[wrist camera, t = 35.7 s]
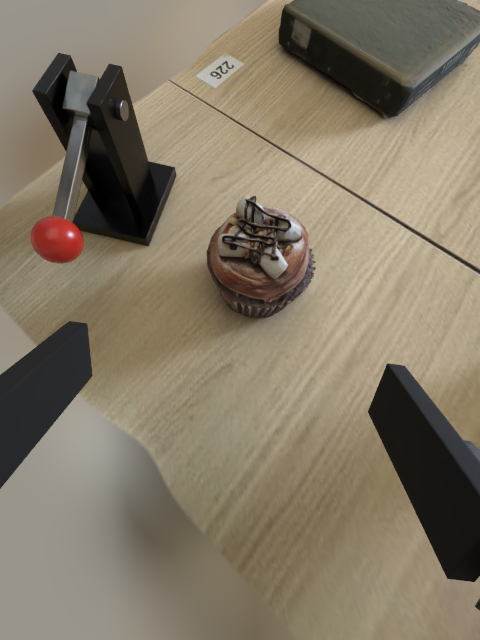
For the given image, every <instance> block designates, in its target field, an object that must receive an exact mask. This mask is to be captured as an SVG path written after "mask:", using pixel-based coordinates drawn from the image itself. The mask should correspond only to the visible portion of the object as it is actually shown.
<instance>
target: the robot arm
mask: <svg viewBox="0 0 480 640" xmlns="http://www.w3.org/2000/svg"><path fill="white" fill-rule="evenodd" d="M91 377H92V367H91V357H90V347H89V337H88V327H87V324H86V323H79V322H71V321H69V322H68V323H66V324H65V325H64V326H63V327H61V328H60V329H59V330H57V331H56V332H55V333H54V334H52V335H51V336H50V337H49V338H47V339H46V340H45V341H43V342H42V343H41V344H40V345H38V346H37V347H36V348H34V349H33V350H32V351H31V352H29V353H28V354H27V355H26V356H24V357H23V358H22V359H20V360H19V361H18V362H16V363H15V364H14V365H13V366H11V367H10V368H9V369H7V371H5V372H4V373H2V374H1V375H0V488H1V487H2V486H3V485H4V483H5V482H6V481H7V480H8V479H9V477H10V476H11V475H12V474H13V472H14V471H15V470H16V468H18V466H19V465H20V464H21V463H22V461H23V460H24V459H25V458H26V457H27V455H28V454H29V453H30V451H31V450H32V449H33V448H34V447H35V445H36V444H37V443H38V442H39V441H40V439H41V438H42V437H43V436H44V434H45V433H46V432H47V431H48V429H49V428H50V427H51V426H52V425H53V423H54V422H55V421H56V420H57V419H58V417H59V416H60V415H61V414H62V412H63V411H64V410H65V409H66V408H67V406H68V405H69V404H70V403H71V401H72V400H73V399H74V398H75V397H76V395H77V394H78V393H79V392H80V390H81V389H82V388H83V387H84V385H85V384H86V383H87V382H88V381H89V379H90V378H91ZM368 413H369V415H370V417H371V419H372V421H373V423H374V426H375V428H376V430H377V432H378V434H379V436H380V438H381V440H382V442H383V444H384V447H385V449H386V451H387V453H388V455H389V457H390V459H391V461H392V463H393V465H394V468H395V470H396V472H397V474H398V476H399V478H400V480H401V482H402V484H403V486H404V489H405V491H406V493H407V495H408V497H409V499H410V501H411V503H412V505H413V507H414V510H415V512H416V514H417V516H418V518H419V520H420V522H421V524H422V526H423V528H424V530H425V533H426V535H427V537H428V539H429V541H430V543H431V545H432V547H433V549H434V551H435V554H436V556H437V558H438V560H439V562H440V564H441V566H442V568H443V570H444V572H445V575H446V577H447V579H455V580H463V581H471V582H475V581H476V580H477V578H478V577H479V576H480V449H479V448H478V447H476V446H475V445H474V444H473V443H471V442H470V441H463V440H462V438H461V437H460V436H459V435H458V433H457V432H456V431H455V429H454V428H453V427H452V426H451V424H450V423H449V422H448V421H447V419H446V418H445V417H444V415H443V414H442V413H441V412H440V410H439V409H438V408H437V406H436V405H435V404H434V403H433V401H432V400H431V399H430V398H429V396H428V395H427V394H426V392H425V391H424V390H423V389H422V387H421V386H420V385H419V384H418V382H417V381H416V380H415V378H414V377H413V376H412V375H411V373H410V372H409V371H408V370H407V368H406V367H405V366H402V365H395V364H387V365H386V368H385V371H384V373H383V376H382V378H381V381H380V383H379V386H378V388H377V391H376V393H375V396H374V398H373V401H372V403H371V406H370V408H369V411H368ZM475 607H476V608H477V609H479V610H480V599H479V600H478V602H477V603H476V605H475Z"/></svg>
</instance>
